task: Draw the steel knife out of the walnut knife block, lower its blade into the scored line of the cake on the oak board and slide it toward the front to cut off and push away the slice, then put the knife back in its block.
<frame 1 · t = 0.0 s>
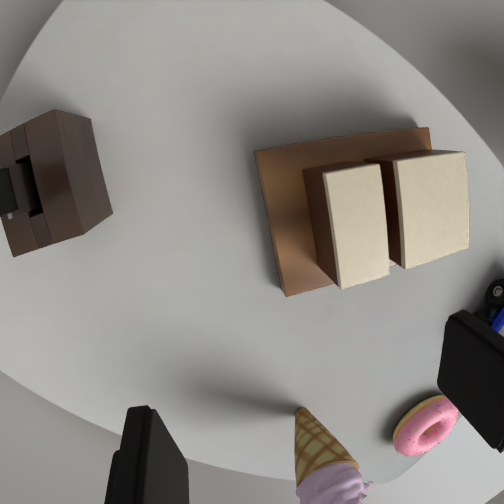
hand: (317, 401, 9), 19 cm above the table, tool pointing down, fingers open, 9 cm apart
doughnut: (419, 417, 38), on the table
cake slice: (333, 214, 25), point 1 cm above the table, touching cutting board
knife: (12, 190, 14), in the knife block
knife block: (69, 177, 23), on the table
toy car: (489, 315, 35), on the table
cake: (403, 198, 26), point 1 cm above the table, touching cutting board
ice cream cone: (303, 411, 34), on the table
cutting board: (357, 204, 27), on the table
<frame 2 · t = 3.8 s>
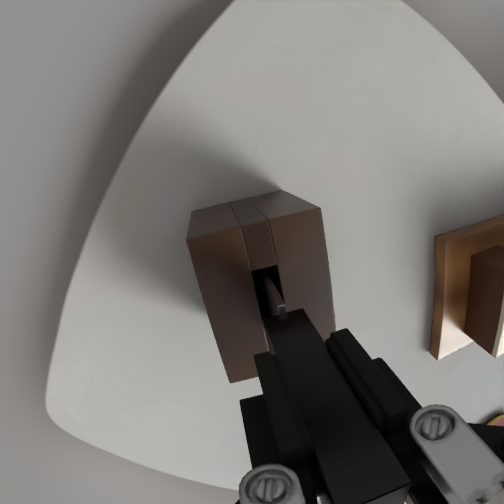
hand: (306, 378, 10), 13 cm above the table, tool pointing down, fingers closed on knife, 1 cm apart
doughnut: (484, 434, 37), on the table
cake slice: (481, 290, 24), point 1 cm above the table, touching cutting board
knife: (281, 326, 13), in the knife block, touching gripper
knife block: (250, 258, 22), on the table
cutting board: (489, 275, 26), on the table
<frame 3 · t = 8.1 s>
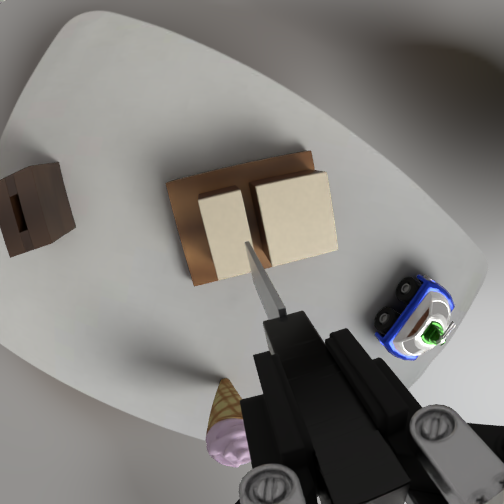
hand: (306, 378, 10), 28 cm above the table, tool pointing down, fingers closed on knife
cake slice: (225, 225, 35), point 1 cm above the table, touching cutting board
knife: (282, 328, 13), point 24 cm above the table, touching gripper
knife block: (46, 202, 32), on the table
toy car: (405, 310, 45), on the table
cake: (286, 210, 36), point 1 cm above the table, touching cutting board
ice cream cone: (226, 382, 43), on the table
cutting board: (249, 216, 37), on the table
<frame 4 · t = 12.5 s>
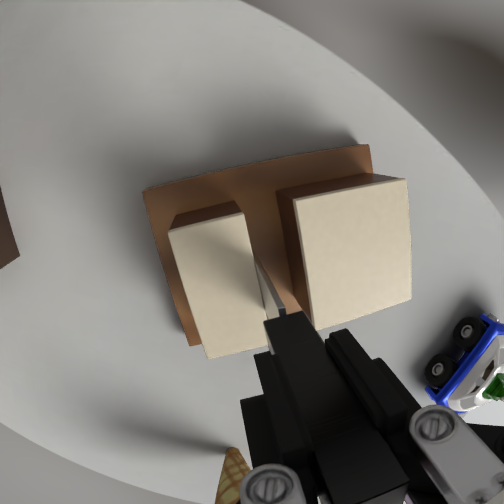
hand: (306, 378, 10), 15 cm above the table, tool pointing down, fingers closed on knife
cake slice: (219, 263, 22), point 2 cm above the table, touching knife
knife: (282, 328, 13), point 11 cm above the table, touching cake slice, gripper
toy car: (458, 354, 32), on the table
cake: (331, 235, 23), point 1 cm above the table, touching cutting board
ice cream cone: (235, 451, 30), on the table
cutting board: (273, 242, 24), on the table
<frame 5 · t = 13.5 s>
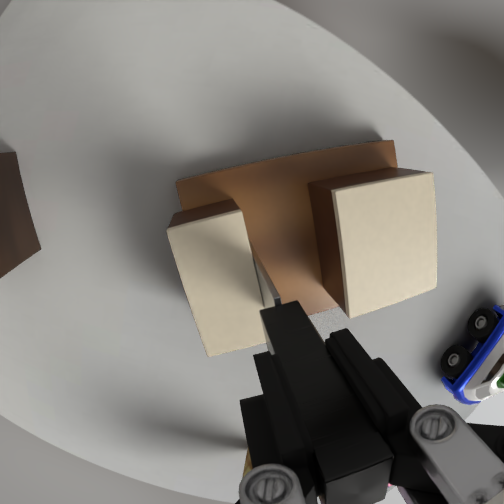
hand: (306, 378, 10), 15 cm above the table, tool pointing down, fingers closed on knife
cake slice: (218, 261, 22), point 1 cm above the table, touching cutting board, knife
knife: (277, 318, 14), point 10 cm above the table, touching cake slice, gripper
knife block: (0, 211, 20), on the table
toy car: (471, 345, 32), on the table
cake: (359, 227, 23), point 1 cm above the table, touching cutting board
cutting board: (303, 234, 24), on the table
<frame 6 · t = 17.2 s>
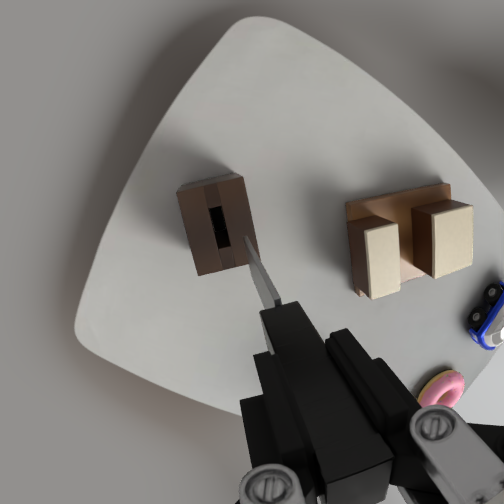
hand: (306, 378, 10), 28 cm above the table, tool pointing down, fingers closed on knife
doughnut: (435, 388, 51), on the table
cake slice: (364, 249, 38), point 1 cm above the table, touching cutting board
knife: (278, 318, 14), point 23 cm above the table, touching gripper
knife block: (216, 213, 36), on the table
toy car: (486, 310, 48), on the table
cake: (431, 232, 39), point 1 cm above the table, touching cutting board
cutting board: (403, 235, 40), on the table
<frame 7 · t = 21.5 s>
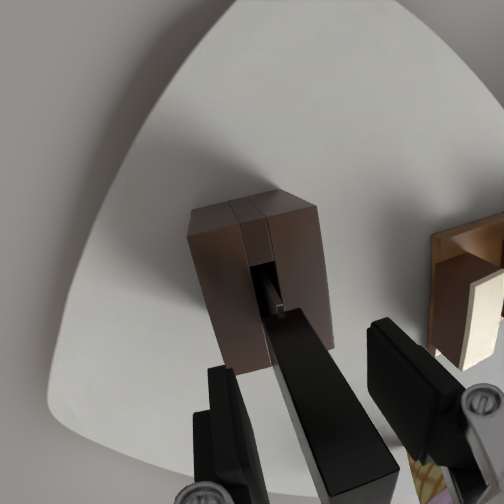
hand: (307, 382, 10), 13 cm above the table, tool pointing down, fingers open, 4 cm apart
cake slice: (450, 299, 25), point 1 cm above the table, touching cutting board
knife: (280, 324, 14), in the knife block
knife block: (249, 256, 22), on the table
ice cream cone: (410, 441, 33), on the table
cutting board: (486, 273, 27), on the table
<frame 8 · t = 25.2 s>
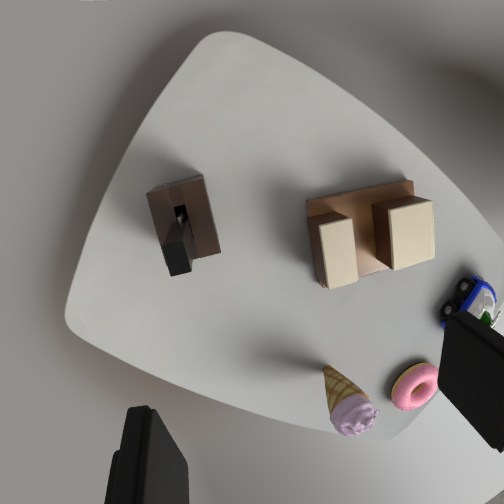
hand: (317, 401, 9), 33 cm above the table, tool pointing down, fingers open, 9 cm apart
doughnut: (410, 380, 55), on the table
cake slice: (325, 243, 42), point 1 cm above the table, touching cutting board
knife: (183, 230, 31), in the knife block
knife block: (187, 211, 40), on the table
toy car: (460, 304, 52), on the table
cake: (394, 226, 43), point 1 cm above the table, touching cutting board
ice cream cone: (328, 369, 50), on the table
cutting board: (365, 230, 44), on the table
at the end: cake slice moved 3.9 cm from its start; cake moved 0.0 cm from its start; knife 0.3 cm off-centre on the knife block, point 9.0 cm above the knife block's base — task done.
